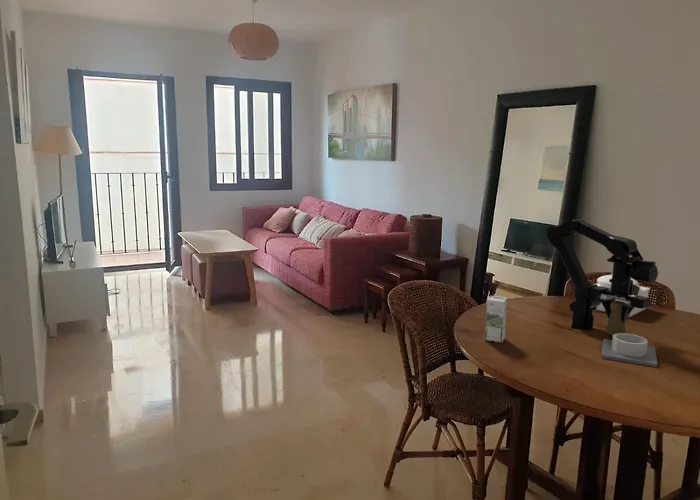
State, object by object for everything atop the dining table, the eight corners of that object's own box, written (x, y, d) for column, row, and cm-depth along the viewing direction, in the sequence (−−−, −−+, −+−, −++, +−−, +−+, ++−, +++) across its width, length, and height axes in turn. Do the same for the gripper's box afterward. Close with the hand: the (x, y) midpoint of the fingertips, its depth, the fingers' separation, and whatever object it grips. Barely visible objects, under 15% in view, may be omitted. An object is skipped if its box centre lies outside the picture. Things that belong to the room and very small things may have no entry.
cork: (627, 336, 180) (631, 304, 178) (608, 334, 181) (611, 303, 179) (622, 330, 186) (625, 299, 184) (603, 329, 187) (606, 298, 185)
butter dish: (602, 299, 230) (606, 263, 227) (647, 309, 217) (652, 270, 214) (583, 307, 219) (587, 269, 216) (630, 318, 205) (634, 277, 202)
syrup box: (504, 338, 182) (507, 296, 179) (502, 343, 177) (504, 301, 174) (487, 335, 184) (490, 294, 182) (484, 341, 179) (486, 299, 176)
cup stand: (601, 358, 165) (602, 342, 164) (603, 341, 179) (604, 327, 178) (656, 367, 159) (658, 351, 158) (654, 349, 173) (656, 334, 172)
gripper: (662, 279, 177) (657, 324, 180) (609, 268, 192) (604, 310, 195) (644, 283, 171) (638, 330, 174) (590, 272, 186) (586, 315, 189)
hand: (616, 321), depth 183 cm, fingers closed on cork, 4 cm apart
